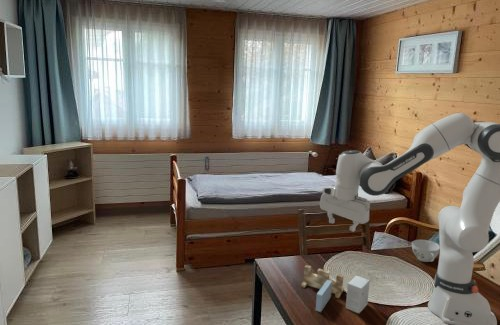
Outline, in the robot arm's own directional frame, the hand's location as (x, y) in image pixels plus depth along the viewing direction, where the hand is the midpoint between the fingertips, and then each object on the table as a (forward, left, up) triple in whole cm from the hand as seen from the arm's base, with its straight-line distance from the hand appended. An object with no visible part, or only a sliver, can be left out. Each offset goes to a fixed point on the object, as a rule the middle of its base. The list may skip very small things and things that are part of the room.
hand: (341, 226), depth 145 cm
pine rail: (+6, -1, -29) cm, 30 cm away
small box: (-9, +4, -29) cm, 31 cm away
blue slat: (+2, +9, -29) cm, 30 cm away
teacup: (-28, -52, -29) cm, 66 cm away
